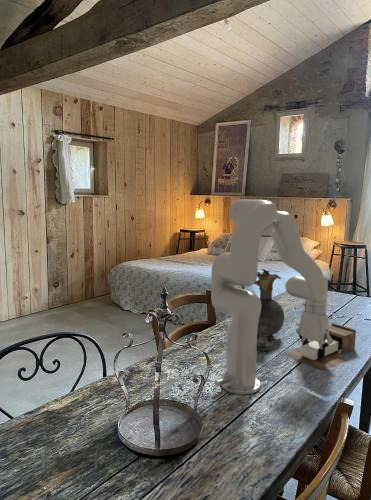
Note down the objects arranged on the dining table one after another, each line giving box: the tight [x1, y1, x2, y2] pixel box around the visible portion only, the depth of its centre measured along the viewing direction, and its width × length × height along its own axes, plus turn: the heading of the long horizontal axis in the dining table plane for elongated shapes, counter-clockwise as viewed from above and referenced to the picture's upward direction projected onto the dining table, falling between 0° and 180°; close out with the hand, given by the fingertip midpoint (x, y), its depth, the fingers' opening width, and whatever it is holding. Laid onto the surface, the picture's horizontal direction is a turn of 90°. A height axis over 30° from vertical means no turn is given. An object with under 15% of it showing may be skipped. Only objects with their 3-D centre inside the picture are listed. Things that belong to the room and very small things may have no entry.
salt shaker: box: [257, 323, 272, 352], centre depth 157 cm, size 6×6×12 cm
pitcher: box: [241, 268, 285, 341], centre depth 173 cm, size 11×19×30 cm, turn 56°
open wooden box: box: [282, 322, 357, 372], centre depth 155 cm, size 26×18×9 cm
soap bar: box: [300, 340, 338, 360], centre depth 153 cm, size 15×6×4 cm, turn 127°
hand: (313, 354), depth 151 cm, fingers closed on soap bar, 6 cm apart
